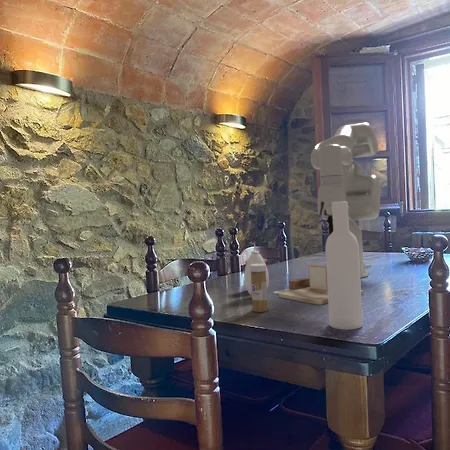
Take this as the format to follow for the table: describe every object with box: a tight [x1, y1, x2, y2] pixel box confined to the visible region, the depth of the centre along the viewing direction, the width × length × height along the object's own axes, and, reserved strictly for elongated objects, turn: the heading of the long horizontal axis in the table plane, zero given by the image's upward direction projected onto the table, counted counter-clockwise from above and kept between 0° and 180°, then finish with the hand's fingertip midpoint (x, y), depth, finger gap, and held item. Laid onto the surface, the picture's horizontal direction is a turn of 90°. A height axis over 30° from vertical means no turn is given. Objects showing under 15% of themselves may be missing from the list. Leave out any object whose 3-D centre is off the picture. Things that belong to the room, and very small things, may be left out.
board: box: [278, 287, 365, 306], centre depth 146 cm, size 20×18×1 cm
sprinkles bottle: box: [250, 264, 269, 313], centre depth 130 cm, size 5×5×14 cm
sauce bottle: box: [244, 242, 270, 296], centre depth 148 cm, size 8×8×18 cm
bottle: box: [324, 201, 364, 331], centre depth 109 cm, size 8×8×30 cm
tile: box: [308, 263, 328, 291], centre depth 150 cm, size 2×8×8 cm, turn 34°
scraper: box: [271, 277, 310, 295], centre depth 157 cm, size 15×5×4 cm, turn 124°
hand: (334, 235), depth 153 cm, fingers closed
